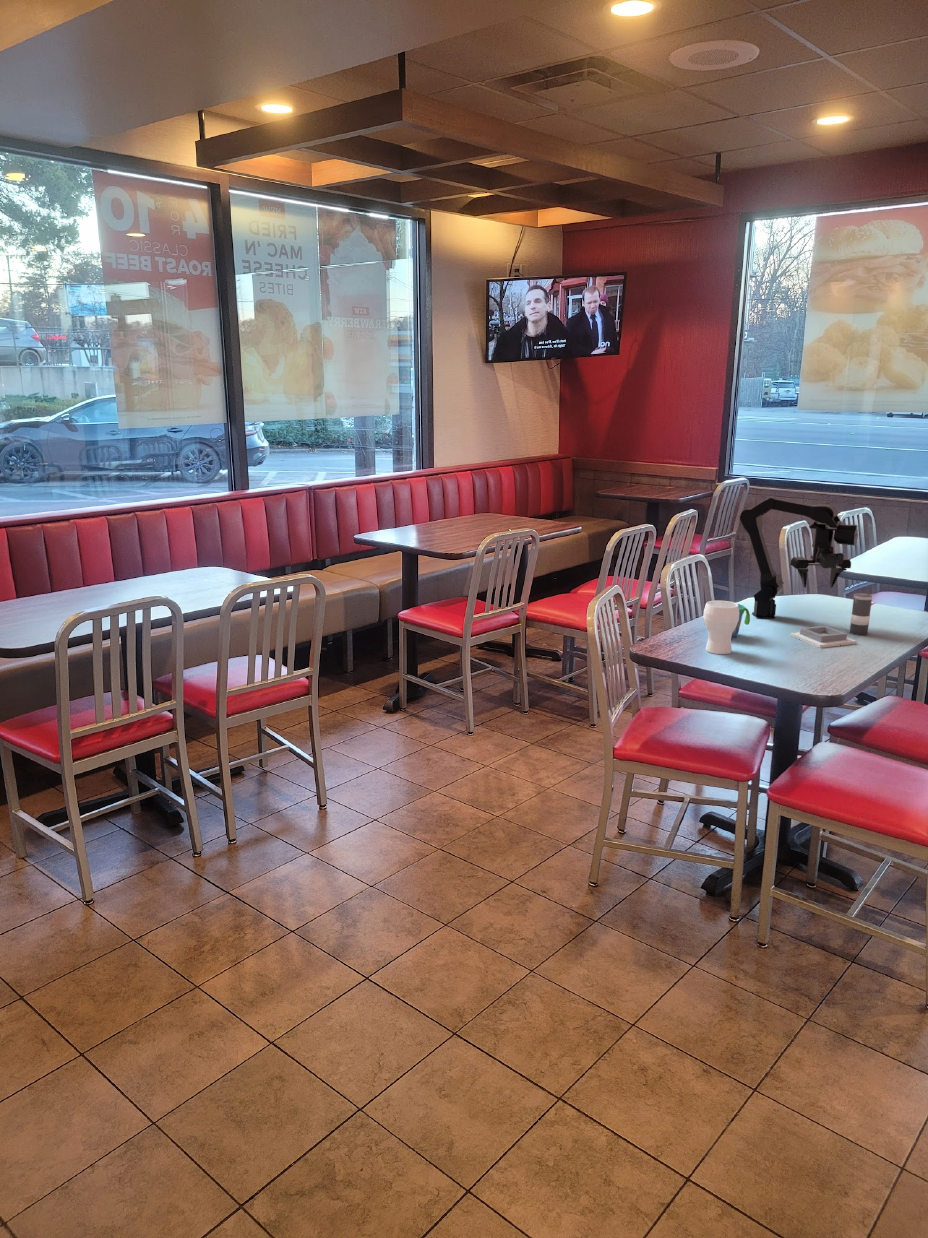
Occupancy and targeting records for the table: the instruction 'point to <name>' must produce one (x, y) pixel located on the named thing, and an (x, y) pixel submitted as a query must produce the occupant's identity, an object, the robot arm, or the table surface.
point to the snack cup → (747, 619)
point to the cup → (720, 625)
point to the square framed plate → (823, 636)
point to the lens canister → (860, 614)
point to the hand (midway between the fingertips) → (817, 587)
